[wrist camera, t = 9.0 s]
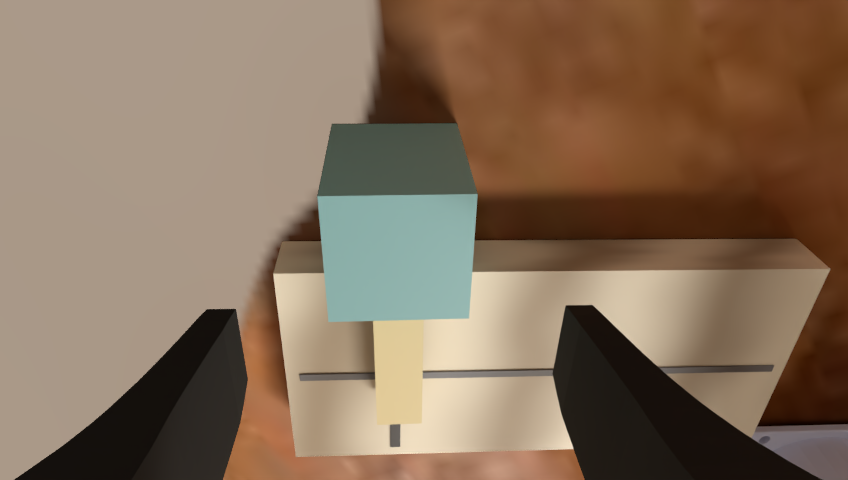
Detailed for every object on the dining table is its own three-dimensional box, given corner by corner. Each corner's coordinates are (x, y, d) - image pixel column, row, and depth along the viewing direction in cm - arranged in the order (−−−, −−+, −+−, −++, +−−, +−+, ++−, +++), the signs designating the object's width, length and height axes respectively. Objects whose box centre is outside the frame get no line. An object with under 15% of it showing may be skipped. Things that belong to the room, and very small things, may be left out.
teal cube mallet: (456, 122, 19) (477, 194, 15) (446, 355, 25) (459, 456, 20) (332, 123, 19) (317, 196, 15) (348, 358, 24) (340, 461, 20)
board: (796, 238, 22) (831, 269, 21) (725, 408, 27) (749, 445, 25) (282, 241, 21) (272, 274, 19) (301, 418, 26) (295, 458, 24)
